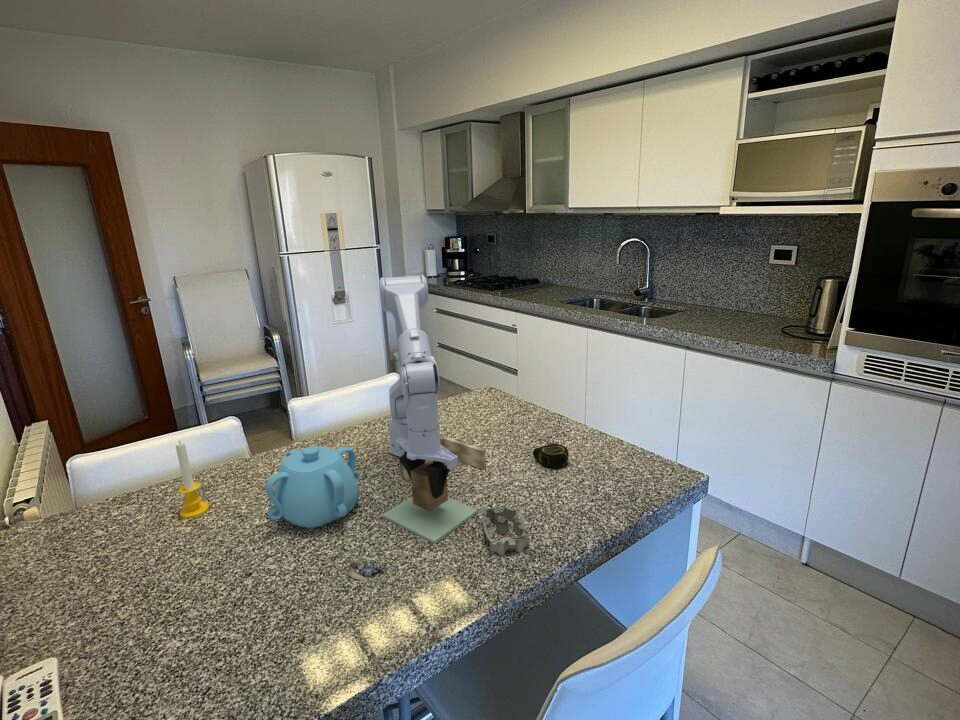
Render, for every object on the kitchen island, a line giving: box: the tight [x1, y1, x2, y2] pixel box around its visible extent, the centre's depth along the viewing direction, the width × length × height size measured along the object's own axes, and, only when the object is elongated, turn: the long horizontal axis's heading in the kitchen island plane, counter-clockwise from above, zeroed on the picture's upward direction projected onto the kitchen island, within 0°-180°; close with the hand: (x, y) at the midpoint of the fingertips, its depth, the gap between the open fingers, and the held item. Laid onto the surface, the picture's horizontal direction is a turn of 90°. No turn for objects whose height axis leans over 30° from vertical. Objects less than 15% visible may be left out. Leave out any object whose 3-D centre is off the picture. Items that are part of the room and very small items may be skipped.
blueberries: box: [345, 555, 388, 582], centre depth 84 cm, size 7×8×2 cm
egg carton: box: [480, 505, 529, 555], centre depth 90 cm, size 10×7×4 cm
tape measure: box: [532, 443, 569, 468], centre depth 116 cm, size 7×7×4 cm
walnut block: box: [410, 461, 449, 512], centre depth 97 cm, size 4×5×7 cm
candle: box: [175, 440, 210, 519], centre depth 101 cm, size 5×5×16 cm
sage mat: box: [381, 496, 479, 545], centre depth 98 cm, size 14×12×1 cm
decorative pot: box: [265, 445, 361, 530], centre depth 99 cm, size 16×16×14 cm
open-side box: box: [399, 435, 487, 481], centre depth 114 cm, size 13×14×4 cm
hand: (428, 491), depth 97 cm, fingers closed on walnut block, 4 cm apart
